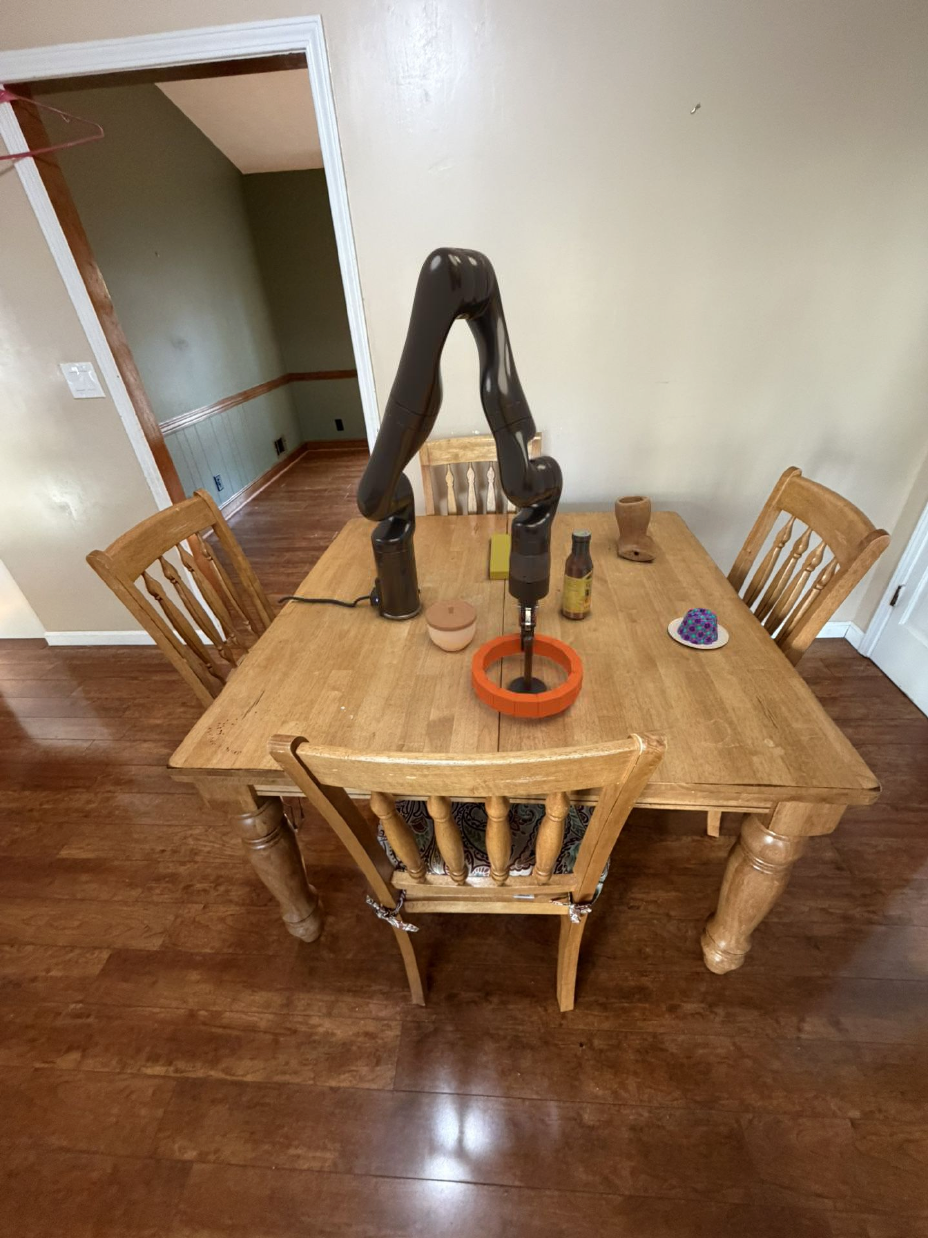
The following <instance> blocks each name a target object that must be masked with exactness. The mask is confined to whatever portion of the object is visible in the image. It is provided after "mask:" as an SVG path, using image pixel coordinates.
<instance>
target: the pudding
mask: <svg viewBox="0 0 928 1238" xmlns="http://www.w3.org/2000/svg"><path fill="white" fill-rule="evenodd" d="M717 618H718V617H717V614H716V613H715V612H713V611H711V610H710V609H708V608H702V607H695V608H690V609H689V610H688V611H687V612H686V614H685V615H684V616H682V617H678V618H676V619H673V620H672V621H670V623H668V626H667V631H668V633H669V635H670V636H671V637H672V638H673V639H674V640H676V641H678V642H679V643H681V644H683V645H685V646H688V647H692V648H696V649H702V650H703V649H704V650H705V649H706V650H707V649H710V650H711V649H717V648H720V647H723V646H725V645H726V644H727V643H728V641H729V638H730V636H729V633H728V631H727V630H726V629H725V628H724V627H723V626H722V625H721V624H718V619H717Z"/></svg>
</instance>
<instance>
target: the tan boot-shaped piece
mask: <svg viewBox="0 0 928 1238" xmlns="http://www.w3.org/2000/svg"><path fill="white" fill-rule="evenodd" d="M614 515H615V519H616V523H617V527H618V529H619V535H620V536H619V537H618V540H617V550H618V551H617V552H618V554H619V555H620V556H621V557H624V558H625V559H629V560H632V561H636V562H645V561H651V560H655V559H656V556H657V553H656V544H655V540H654V539H653V536H651V535H647V533H648V527H649V524H650V521H651V516H652V501H651V499H650V498H649V497H648V496H646V495H641V494H633V495H625V496H621V497H619V498H617V499H616V500H615V502H614Z"/></svg>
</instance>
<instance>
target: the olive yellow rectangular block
mask: <svg viewBox="0 0 928 1238" xmlns="http://www.w3.org/2000/svg"><path fill="white" fill-rule="evenodd" d="M510 543H511V534H505V533H491V544H490V562H489V579H490V580H509V554H510V547H511V546H510Z"/></svg>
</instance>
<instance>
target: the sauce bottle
mask: <svg viewBox="0 0 928 1238" xmlns="http://www.w3.org/2000/svg"><path fill="white" fill-rule="evenodd" d="M591 540H592V532H591V531H590V530H587V529H582V528H580V529H575V530H573V531H572V532H571V541H572V542H571V551H570V554H569V555H568V556H567V557H566V560H565V563H564V572H563V585H562V586H563V587H562V603H561V604H562V605H561V606H562V608H561V610H562V614H563V615H564V616H565V617H566V618H569V619H572V620H581V619H585V618H586V617H587V616H588V615H589V612H590V608H591V600H592V591H593V589H592V588H593V580H594V579H593V578H594V567H595V566H594V564H593V560H592V556H591V552H590V547H591V546H590V545H591Z"/></svg>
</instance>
